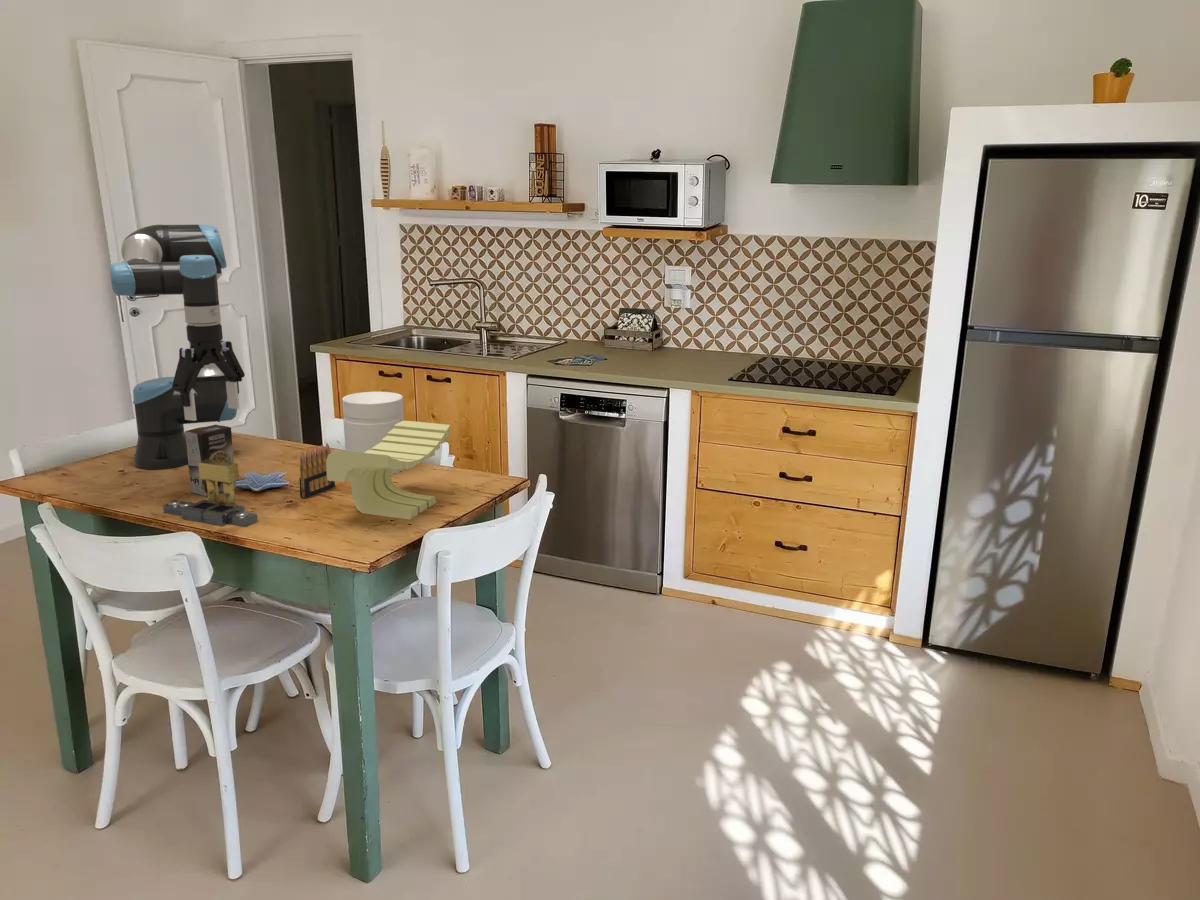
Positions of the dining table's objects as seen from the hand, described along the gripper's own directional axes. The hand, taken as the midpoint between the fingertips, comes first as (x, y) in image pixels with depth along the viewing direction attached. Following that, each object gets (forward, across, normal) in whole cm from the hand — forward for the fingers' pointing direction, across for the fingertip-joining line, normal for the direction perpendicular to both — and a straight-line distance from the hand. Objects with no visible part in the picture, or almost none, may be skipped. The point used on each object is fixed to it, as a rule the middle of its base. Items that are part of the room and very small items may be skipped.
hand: (212, 414), depth 213 cm
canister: (+23, +41, -16) cm, 50 cm away
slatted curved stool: (+23, +15, -39) cm, 47 cm away
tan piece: (+22, 0, 0) cm, 23 cm away
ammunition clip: (+23, +17, -15) cm, 32 cm away
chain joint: (+23, -8, -5) cm, 24 cm away
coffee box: (+23, +8, +10) cm, 26 cm away
